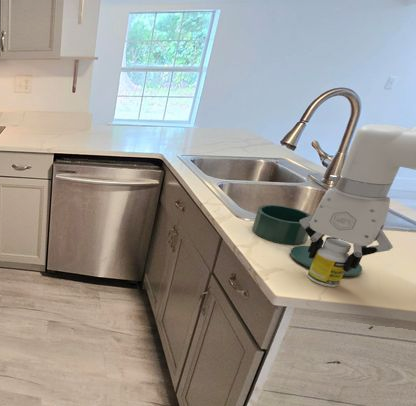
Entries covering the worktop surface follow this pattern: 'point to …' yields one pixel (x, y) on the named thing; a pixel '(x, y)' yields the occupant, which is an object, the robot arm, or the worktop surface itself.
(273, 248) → the worktop surface
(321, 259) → the supplement bottle
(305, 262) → the lid
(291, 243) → the pot
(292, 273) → the worktop surface
